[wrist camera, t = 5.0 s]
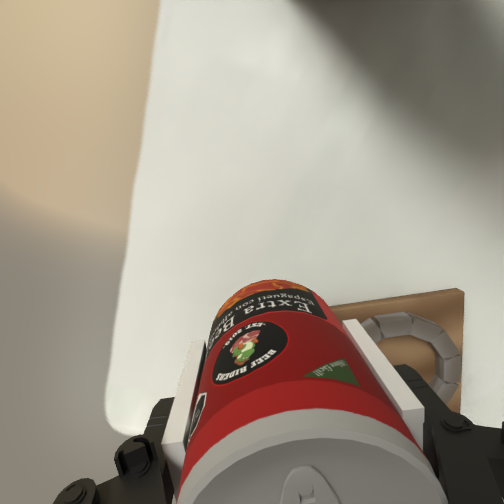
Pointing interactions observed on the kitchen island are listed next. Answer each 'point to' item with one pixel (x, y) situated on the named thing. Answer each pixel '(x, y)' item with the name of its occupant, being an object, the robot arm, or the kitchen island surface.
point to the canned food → (295, 412)
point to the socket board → (411, 344)
